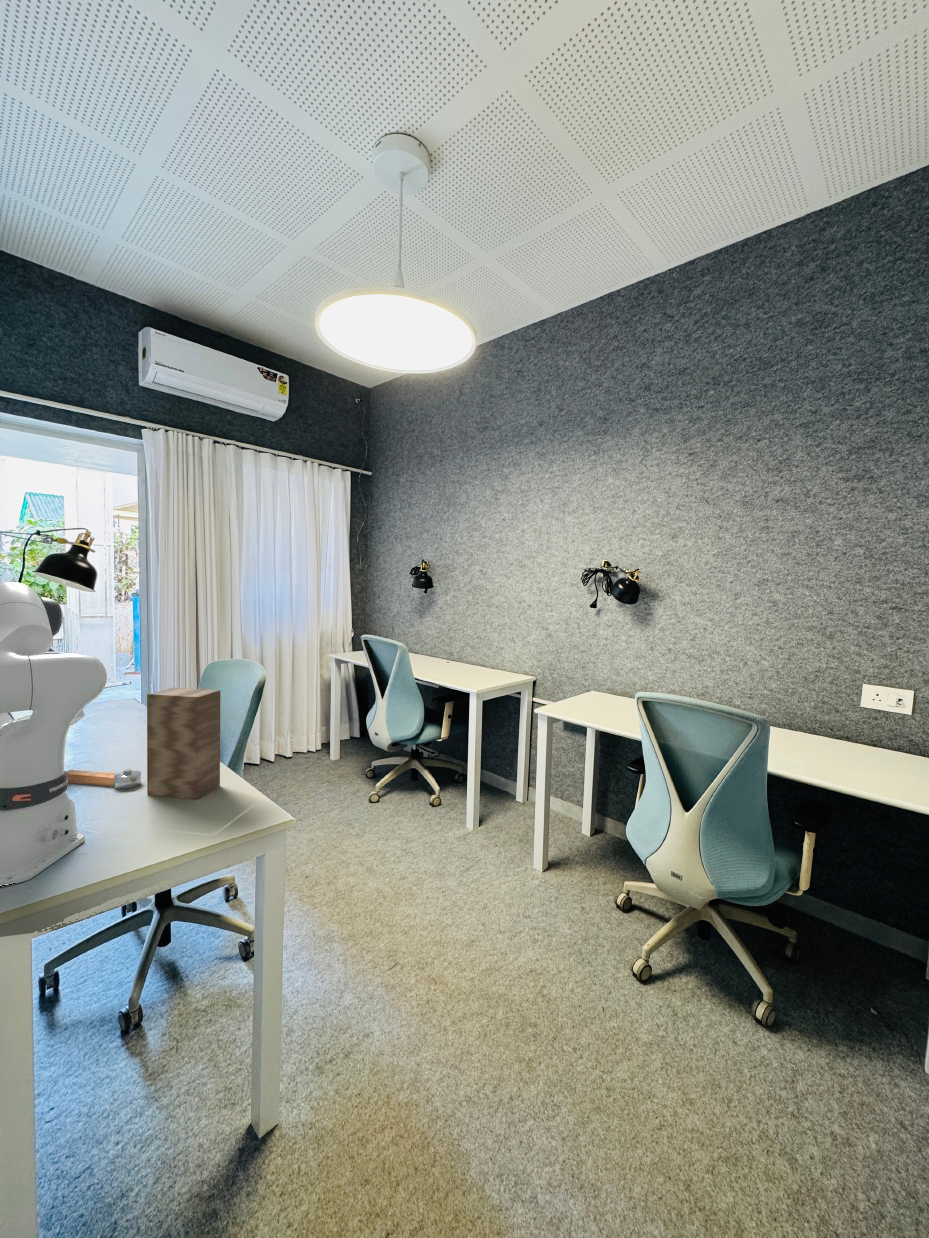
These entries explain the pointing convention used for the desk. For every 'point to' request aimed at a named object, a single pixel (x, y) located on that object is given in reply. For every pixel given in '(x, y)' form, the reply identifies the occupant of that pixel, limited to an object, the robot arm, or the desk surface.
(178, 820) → the desk surface
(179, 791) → the pedestal
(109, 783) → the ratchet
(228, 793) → the desk surface
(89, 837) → the desk surface
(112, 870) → the desk surface
